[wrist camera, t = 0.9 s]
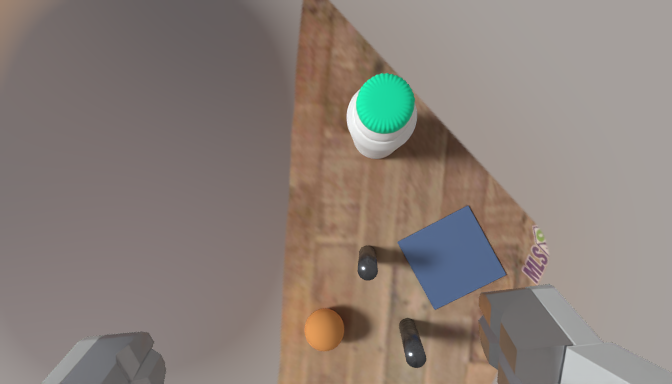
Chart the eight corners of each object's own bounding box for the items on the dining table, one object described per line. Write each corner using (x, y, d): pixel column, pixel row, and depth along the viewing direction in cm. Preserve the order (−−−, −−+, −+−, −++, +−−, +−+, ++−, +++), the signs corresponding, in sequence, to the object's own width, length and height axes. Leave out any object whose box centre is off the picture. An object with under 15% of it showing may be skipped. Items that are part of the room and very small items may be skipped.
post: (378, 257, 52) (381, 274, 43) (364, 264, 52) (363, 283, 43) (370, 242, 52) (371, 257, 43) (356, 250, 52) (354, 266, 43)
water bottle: (408, 128, 50) (449, 86, 25) (382, 167, 51) (398, 163, 26) (369, 103, 51) (373, 37, 26) (344, 143, 51) (324, 115, 26)
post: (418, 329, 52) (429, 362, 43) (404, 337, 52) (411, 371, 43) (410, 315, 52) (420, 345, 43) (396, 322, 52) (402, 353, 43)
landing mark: (505, 274, 50) (506, 274, 50) (434, 309, 52) (434, 309, 51) (467, 205, 50) (468, 205, 50) (397, 242, 51) (397, 242, 51)
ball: (352, 328, 53) (350, 348, 47) (319, 344, 54) (314, 366, 48) (334, 296, 53) (329, 311, 47) (301, 312, 54) (293, 330, 48)
